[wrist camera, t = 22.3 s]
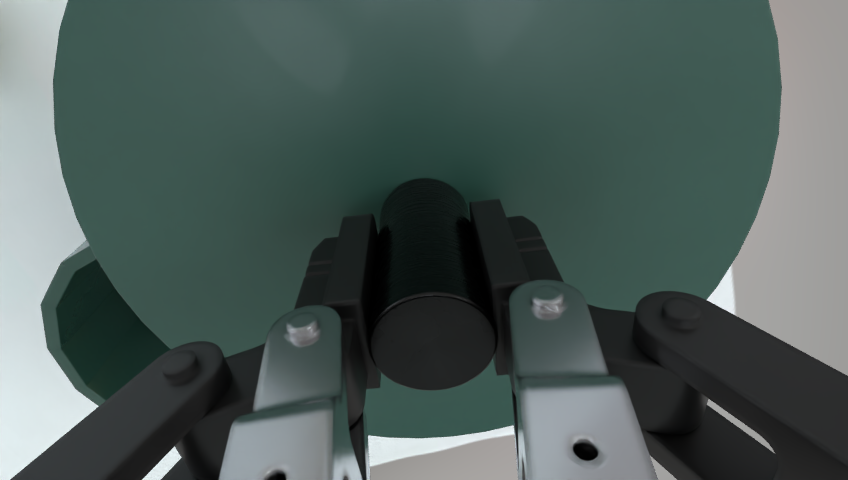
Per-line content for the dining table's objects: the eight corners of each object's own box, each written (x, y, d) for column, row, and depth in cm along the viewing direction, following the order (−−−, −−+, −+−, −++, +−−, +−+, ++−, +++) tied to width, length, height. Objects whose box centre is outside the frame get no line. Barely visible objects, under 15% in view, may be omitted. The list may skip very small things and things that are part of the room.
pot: (169, 377, 40) (123, 458, 34) (65, 189, 31) (-23, 249, 25) (375, 356, 40) (368, 434, 33) (330, 157, 31) (308, 211, 24)
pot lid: (218, 437, 19) (147, 619, 14) (-94, -162, 10) (-698, -304, 4) (690, 387, 18) (804, 559, 13) (858, -303, 9) (1493, -665, 4)
